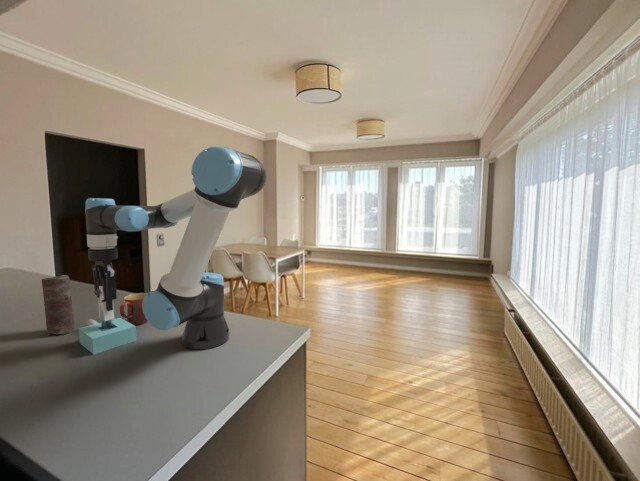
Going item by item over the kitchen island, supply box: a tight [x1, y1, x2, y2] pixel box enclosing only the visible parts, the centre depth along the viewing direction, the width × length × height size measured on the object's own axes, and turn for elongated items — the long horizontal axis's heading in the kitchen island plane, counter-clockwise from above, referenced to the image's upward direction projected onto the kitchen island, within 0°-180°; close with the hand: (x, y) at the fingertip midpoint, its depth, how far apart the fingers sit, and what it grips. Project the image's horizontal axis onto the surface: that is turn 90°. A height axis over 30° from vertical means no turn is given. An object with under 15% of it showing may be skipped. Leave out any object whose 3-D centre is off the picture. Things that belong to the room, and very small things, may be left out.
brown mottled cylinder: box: [41, 274, 76, 335], centre depth 104 cm, size 8×7×20 cm
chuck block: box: [78, 317, 137, 355], centre depth 101 cm, size 22×12×5 cm, turn 55°
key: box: [93, 285, 113, 329], centre depth 97 cm, size 6×3×14 cm, turn 145°
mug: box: [119, 292, 149, 326], centre depth 113 cm, size 12×9×10 cm
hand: (106, 318), depth 98 cm, fingers closed on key, 3 cm apart
